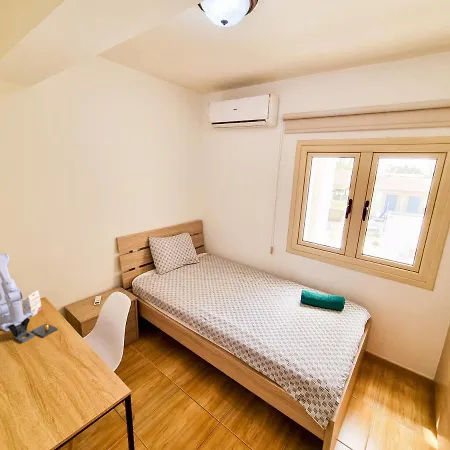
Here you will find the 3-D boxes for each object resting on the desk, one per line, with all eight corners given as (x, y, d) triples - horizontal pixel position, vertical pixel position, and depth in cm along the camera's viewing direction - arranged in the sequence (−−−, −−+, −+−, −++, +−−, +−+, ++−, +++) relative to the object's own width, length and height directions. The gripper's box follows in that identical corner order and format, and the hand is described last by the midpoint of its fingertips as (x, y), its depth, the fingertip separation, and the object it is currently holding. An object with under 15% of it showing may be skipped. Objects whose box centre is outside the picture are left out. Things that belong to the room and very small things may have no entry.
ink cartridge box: (34, 309, 165) (31, 289, 162) (42, 309, 165) (39, 289, 162) (24, 317, 157) (20, 295, 154) (32, 317, 157) (28, 295, 154)
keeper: (31, 332, 142) (30, 325, 141) (46, 324, 149) (45, 318, 148) (43, 337, 138) (41, 330, 137) (57, 329, 145) (56, 322, 144)
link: (12, 337, 137) (10, 328, 136) (24, 331, 142) (22, 322, 141) (22, 343, 133) (20, 333, 132) (34, 336, 138) (33, 327, 137)
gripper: (4, 320, 128) (8, 343, 131) (35, 307, 141) (38, 328, 143) (-3, 317, 131) (1, 339, 133) (27, 304, 144) (31, 325, 146)
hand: (20, 333), depth 139 cm, fingers closed on link, 4 cm apart
